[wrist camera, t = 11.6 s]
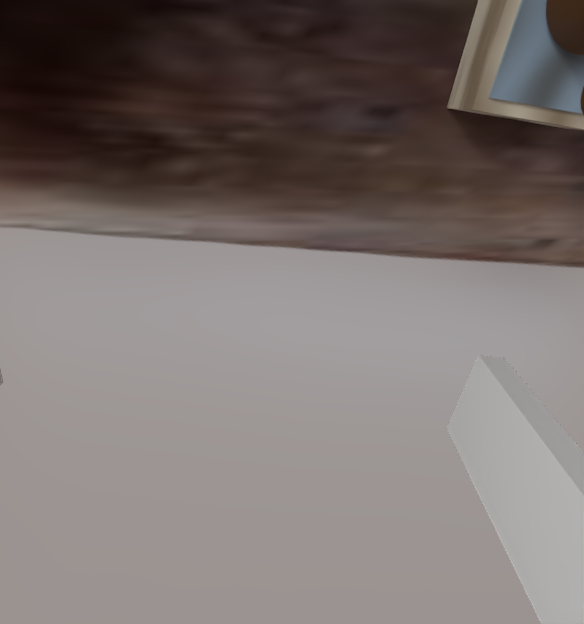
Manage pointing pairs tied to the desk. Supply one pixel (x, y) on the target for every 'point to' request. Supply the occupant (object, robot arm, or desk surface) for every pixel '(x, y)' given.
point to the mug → (567, 27)
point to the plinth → (518, 67)
